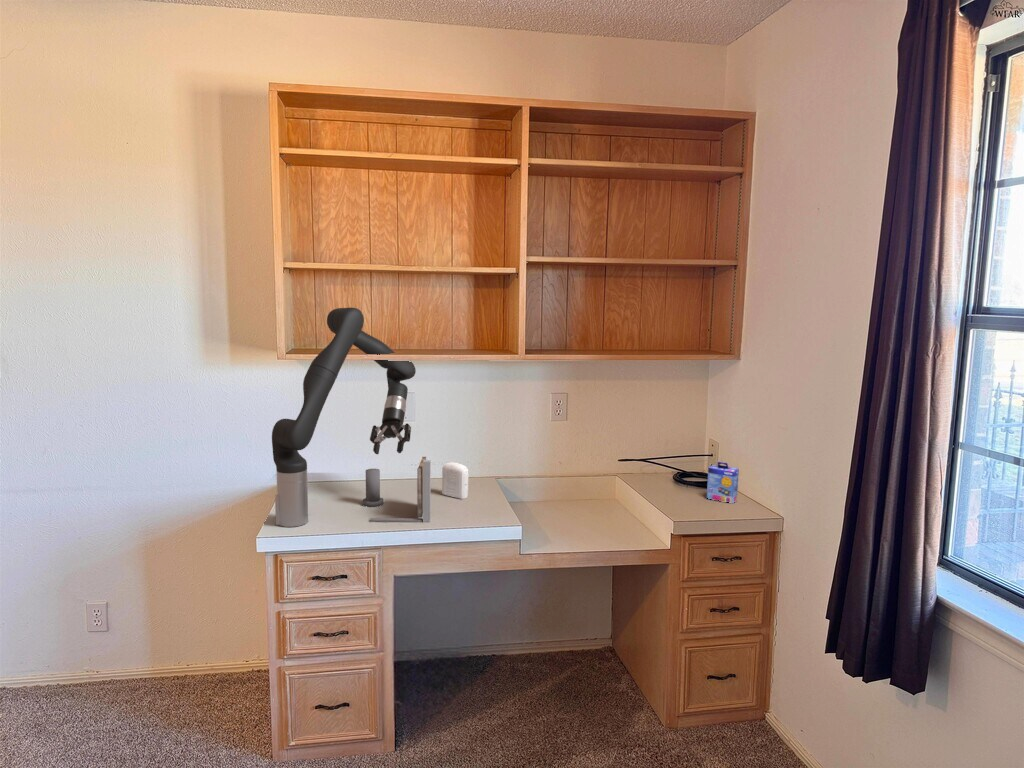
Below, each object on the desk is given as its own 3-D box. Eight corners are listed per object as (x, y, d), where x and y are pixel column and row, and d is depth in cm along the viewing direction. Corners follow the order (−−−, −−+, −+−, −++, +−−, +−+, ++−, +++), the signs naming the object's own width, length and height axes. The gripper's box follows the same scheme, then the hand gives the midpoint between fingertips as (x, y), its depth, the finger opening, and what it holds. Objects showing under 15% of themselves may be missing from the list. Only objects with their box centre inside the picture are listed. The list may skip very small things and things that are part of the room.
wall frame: (369, 522, 224) (368, 461, 222) (370, 519, 227) (370, 459, 224) (429, 522, 225) (429, 461, 222) (430, 520, 227) (430, 460, 225)
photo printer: (469, 497, 253) (470, 463, 251) (462, 500, 250) (462, 466, 248) (447, 492, 259) (447, 459, 257) (440, 495, 255) (440, 461, 254)
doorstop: (361, 507, 240) (360, 472, 238) (364, 500, 247) (364, 467, 245) (381, 507, 240) (381, 473, 238) (384, 501, 247) (384, 467, 245)
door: (422, 501, 241) (422, 456, 239) (430, 502, 242) (430, 456, 239) (417, 517, 225) (417, 469, 223) (426, 517, 225) (426, 469, 223)
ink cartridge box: (705, 499, 255) (707, 460, 253) (710, 496, 260) (712, 458, 258) (732, 504, 250) (735, 465, 248) (737, 500, 254) (739, 462, 252)
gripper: (371, 407, 248) (364, 449, 240) (408, 405, 244) (402, 447, 236) (380, 416, 254) (373, 458, 246) (417, 414, 250) (410, 456, 242)
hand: (387, 453), depth 241 cm, fingers open, 8 cm apart
